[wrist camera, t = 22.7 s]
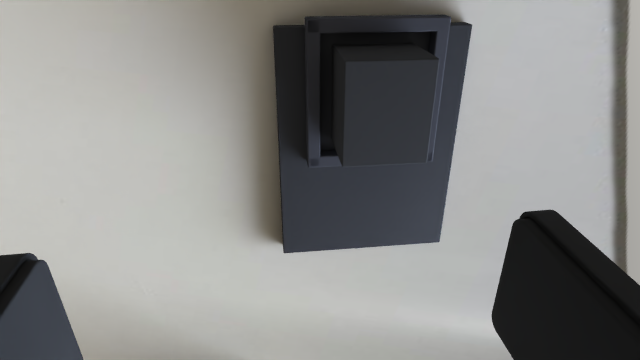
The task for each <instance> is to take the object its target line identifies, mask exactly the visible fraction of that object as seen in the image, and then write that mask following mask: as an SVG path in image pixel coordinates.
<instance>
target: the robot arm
mask: <svg viewBox="0 0 640 360" xmlns="http://www.w3.org/2000/svg"><path fill="white" fill-rule="evenodd" d="M492 322H493V325H494V328H495V330H496V332H497V333H498V335H499V337H500V338H501V340H502V342H503V343H504V345H505V346H506V348H507V350H508V351H509V353H510V354H511V356H512V358H513V359H514V360H640V285H638V284H637V283H636V282H635V281H634V280H633V279H632V278H631V277H630V276H628V275H627V274H626V273H625V272H624V271H623V270H622V269H620V268H619V267H618V266H617V265H616V264H615V263H614V262H613V261H611V260H610V259H609V258H608V257H607V256H606V255H605V254H604V253H602V252H601V251H600V250H599V249H598V248H597V247H596V246H595V245H593V244H592V243H591V242H590V241H589V240H588V239H587V238H586V237H584V236H583V235H582V234H581V233H580V232H579V231H578V230H577V229H575V228H574V227H573V226H572V225H571V224H570V223H569V222H568V221H566V220H565V219H564V218H563V217H562V216H561V215H560V214H559V213H557V212H556V211H554V210H541V211H529V212H524V213H523V214H522V215H521V216H520V219H517V220H515V222H514V223H513V226H512V230H511V234H510V238H509V242H508V247H507V251H506V255H505V259H504V264H503V268H502V272H501V276H500V281H499V285H498V289H497V293H496V298H495V302H494V306H493V310H492ZM0 360H83V357H82V354H81V351H80V349H79V346H78V344H77V341H76V338H75V336H74V333H73V330H72V328H71V325H70V322H69V320H68V317H67V315H66V312H65V309H64V307H63V304H62V301H61V299H60V296H59V293H58V291H57V288H56V286H55V283H54V280H53V278H52V275H51V272H50V270H49V267H48V265H47V263H46V262H45V261H44V260H38V259H37V257H36V256H35V255H34V254H31V253H24V254H12V255H0Z"/></svg>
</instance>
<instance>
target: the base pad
mask: <svg viewBox="0 0 640 360" xmlns="http://www.w3.org/2000/svg"><path fill="white" fill-rule="evenodd" d="M450 22H451V17H450V16H447V15H387V16H319V17H305V25H279V26H273V33H274V55H275V77H276V99H277V121H278V143H279V165H280V187H281V209H282V232H283V250H284V253H293V252H307V251H321V250H335V249H349V248H363V247H377V246H391V245H405V244H419V243H433V242H439V241H440V234H441V228H442V221H443V215H444V208H445V201H446V195H447V188H448V181H449V175H450V168H451V162H452V155H453V148H454V142H455V135H456V129H457V122H458V115H459V109H460V102H461V95H462V89H463V82H464V76H465V69H466V62H467V56H468V49H469V42H470V36H471V29H472V25H471V24H469V23H466V22H457V23H450ZM385 43H414V44H416V45H417V46H419V47H421V48H422V49H424V50H426V51H427V52H429V53H431V54H432V55H434V56H436V57H437V58H439V59H440V60H439V68H438V76H437V84H436V93H435V101H434V109H433V117H432V125H431V133H430V141H429V149H428V157H427V163H417V164H398V165H378V166H359V167H342V165H341V162H340V160H339V157H338V155H337V152H336V149H335V147H334V144H333V142H332V139H331V103H332V45H338V44H385Z"/></svg>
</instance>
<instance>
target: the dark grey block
mask: <svg viewBox="0 0 640 360" xmlns="http://www.w3.org/2000/svg"><path fill="white" fill-rule="evenodd" d="M439 60H440V59H439V58H437V57H436V56H434V55H432V54H431V53H429V52H427V51H426V50H424V49H422V48H421V47H419V46H417V45H416V44H414V43H385V44H338V45H332V103H331V139H332V142H333V144H334V147H335V149H336V152H337V155H338V157H339V160H340V162H341V165H342V167H359V166H378V165H398V164H417V163H427V157H428V149H429V141H430V133H431V125H432V117H433V109H434V101H435V93H436V84H437V76H438V68H439Z"/></svg>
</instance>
